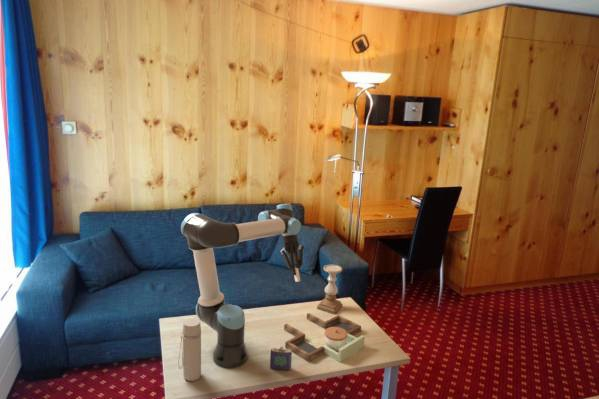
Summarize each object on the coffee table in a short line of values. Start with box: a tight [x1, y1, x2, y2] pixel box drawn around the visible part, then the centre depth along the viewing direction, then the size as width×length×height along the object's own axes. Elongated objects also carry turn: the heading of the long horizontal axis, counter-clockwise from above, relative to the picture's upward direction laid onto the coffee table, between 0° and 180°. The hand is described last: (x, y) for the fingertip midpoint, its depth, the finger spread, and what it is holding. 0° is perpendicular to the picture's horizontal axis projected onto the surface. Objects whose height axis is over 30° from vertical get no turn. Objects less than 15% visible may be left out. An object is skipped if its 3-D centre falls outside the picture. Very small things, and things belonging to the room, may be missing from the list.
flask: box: [269, 345, 293, 372], centre depth 193 cm, size 9×3×11 cm, turn 87°
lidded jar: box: [324, 327, 348, 352], centre depth 211 cm, size 11×11×9 cm
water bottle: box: [177, 317, 202, 382], centre depth 182 cm, size 9×8×25 cm
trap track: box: [283, 312, 366, 363], centre depth 218 cm, size 36×39×6 cm
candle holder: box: [316, 264, 343, 315], centre depth 247 cm, size 11×11×24 cm
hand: (297, 281), depth 222 cm, fingers closed
